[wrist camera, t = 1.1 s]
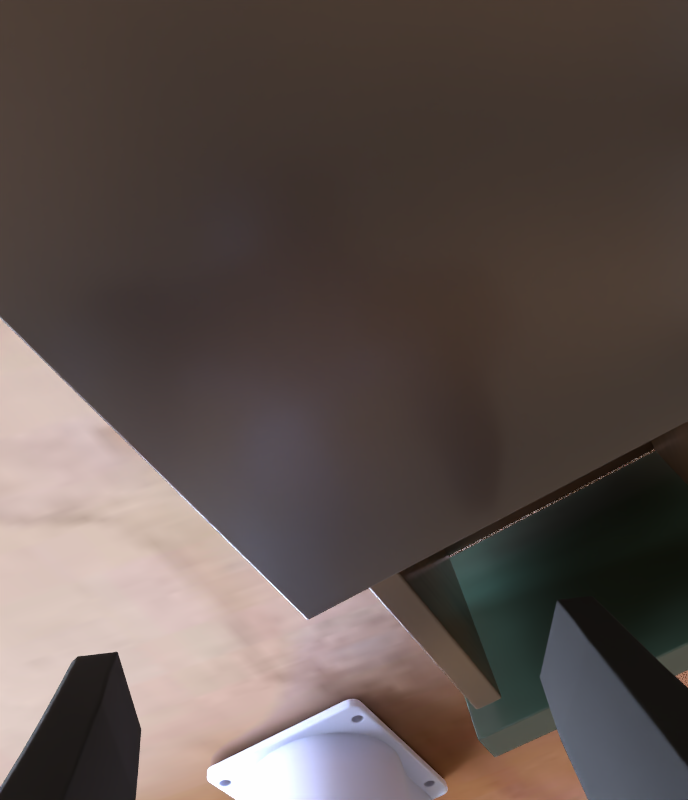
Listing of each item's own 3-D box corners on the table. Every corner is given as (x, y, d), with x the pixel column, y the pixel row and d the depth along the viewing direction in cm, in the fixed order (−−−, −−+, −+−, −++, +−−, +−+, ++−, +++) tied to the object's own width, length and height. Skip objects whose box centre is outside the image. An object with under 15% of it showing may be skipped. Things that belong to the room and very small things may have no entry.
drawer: (716, 529, 24) (853, 678, 19) (481, 644, 26) (544, 811, 20) (573, 137, 16) (742, 201, 11) (244, 342, 18) (243, 488, 12)
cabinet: (617, 219, 18) (839, 343, 11) (286, 415, 20) (307, 621, 13) (400, -397, 12) (621, -985, 5) (-63, -19, 13) (-380, -51, 7)
